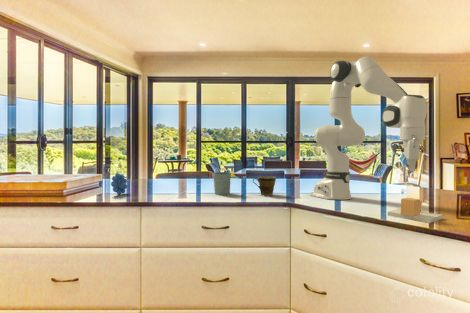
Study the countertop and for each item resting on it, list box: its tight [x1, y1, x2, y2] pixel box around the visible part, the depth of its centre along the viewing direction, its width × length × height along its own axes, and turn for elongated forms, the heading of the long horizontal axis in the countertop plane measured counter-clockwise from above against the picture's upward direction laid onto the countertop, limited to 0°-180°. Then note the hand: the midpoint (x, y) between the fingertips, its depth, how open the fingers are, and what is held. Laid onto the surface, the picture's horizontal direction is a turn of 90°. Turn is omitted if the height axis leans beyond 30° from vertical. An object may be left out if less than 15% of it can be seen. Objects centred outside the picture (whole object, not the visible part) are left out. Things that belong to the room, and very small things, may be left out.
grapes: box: [110, 172, 128, 196], centre depth 174 cm, size 12×7×12 cm, turn 157°
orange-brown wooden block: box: [400, 197, 421, 217], centre depth 126 cm, size 5×5×6 cm
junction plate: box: [387, 200, 443, 224], centre depth 129 cm, size 16×12×6 cm
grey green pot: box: [212, 171, 232, 196], centre depth 180 cm, size 10×10×12 cm
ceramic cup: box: [252, 175, 277, 197], centre depth 178 cm, size 13×10×10 cm
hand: (411, 170), depth 126 cm, fingers open, 8 cm apart
